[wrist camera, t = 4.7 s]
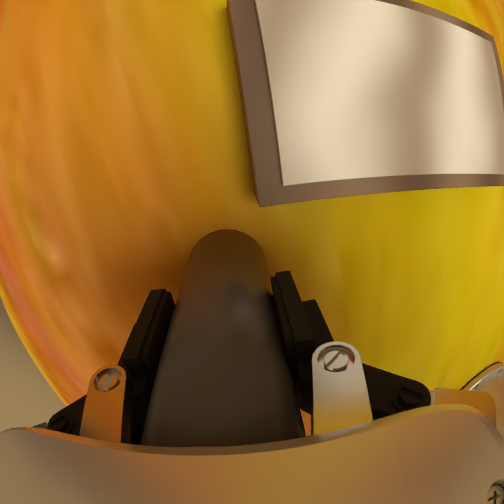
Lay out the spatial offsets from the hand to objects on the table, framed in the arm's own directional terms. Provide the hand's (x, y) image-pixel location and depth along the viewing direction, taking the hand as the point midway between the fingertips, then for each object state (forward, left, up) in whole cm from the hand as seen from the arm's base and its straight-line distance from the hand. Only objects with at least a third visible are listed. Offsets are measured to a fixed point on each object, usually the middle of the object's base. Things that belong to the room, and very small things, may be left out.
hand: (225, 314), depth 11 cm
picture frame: (-10, -9, -4) cm, 14 cm away
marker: (0, 0, -4) cm, 4 cm away
